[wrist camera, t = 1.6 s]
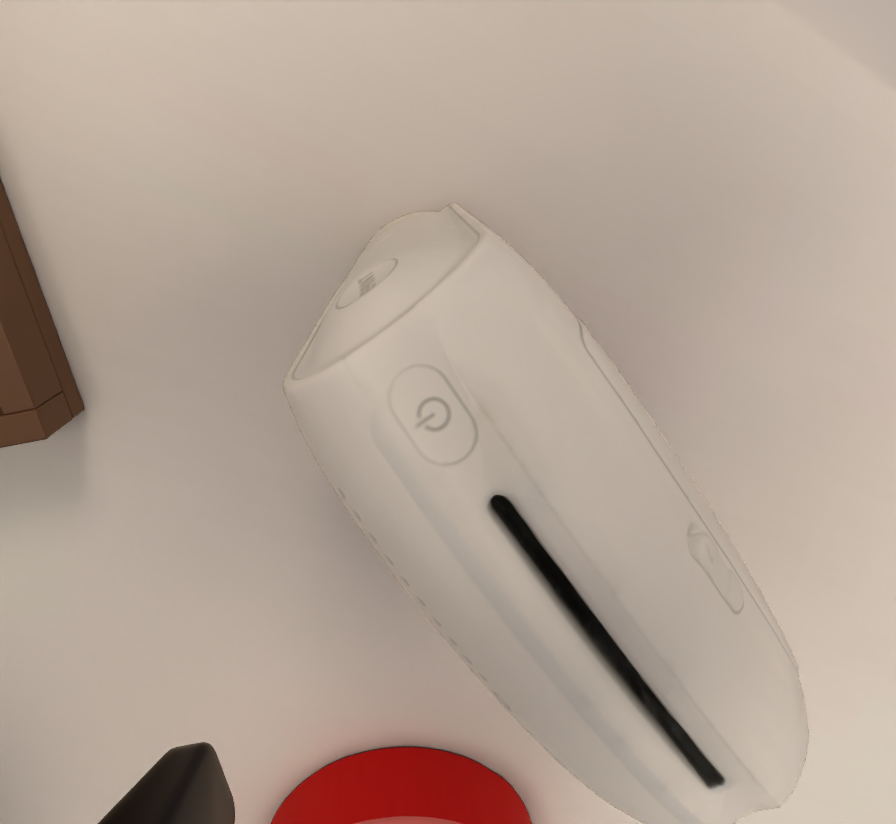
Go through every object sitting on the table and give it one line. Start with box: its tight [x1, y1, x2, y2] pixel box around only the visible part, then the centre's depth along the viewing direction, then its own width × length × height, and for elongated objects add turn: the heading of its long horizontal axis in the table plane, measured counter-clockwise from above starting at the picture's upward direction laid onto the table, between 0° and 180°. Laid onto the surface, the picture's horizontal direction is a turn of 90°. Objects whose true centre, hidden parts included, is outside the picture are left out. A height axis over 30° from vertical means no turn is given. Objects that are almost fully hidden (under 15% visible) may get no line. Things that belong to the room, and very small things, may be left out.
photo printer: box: [283, 203, 809, 824], centre depth 14 cm, size 10×4×12 cm, turn 35°
